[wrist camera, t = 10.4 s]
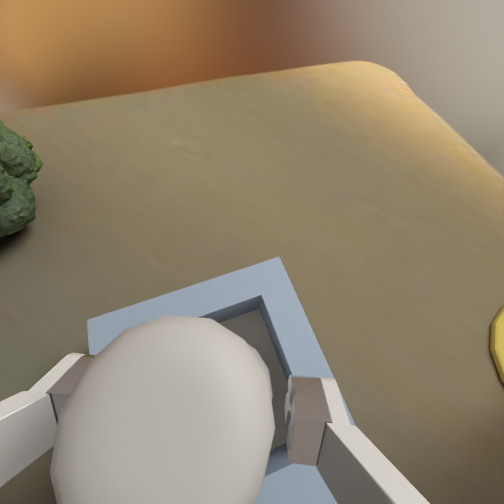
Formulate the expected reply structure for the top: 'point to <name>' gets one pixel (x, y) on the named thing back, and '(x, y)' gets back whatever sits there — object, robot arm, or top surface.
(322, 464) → the robot arm
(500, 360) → the candle
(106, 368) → the salt shaker
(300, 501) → the container
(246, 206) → the top surface
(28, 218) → the vegetable
